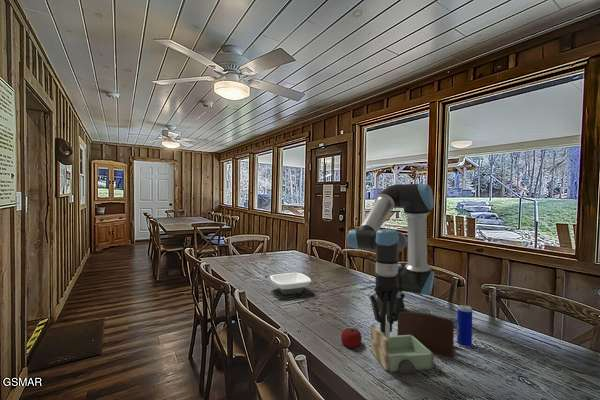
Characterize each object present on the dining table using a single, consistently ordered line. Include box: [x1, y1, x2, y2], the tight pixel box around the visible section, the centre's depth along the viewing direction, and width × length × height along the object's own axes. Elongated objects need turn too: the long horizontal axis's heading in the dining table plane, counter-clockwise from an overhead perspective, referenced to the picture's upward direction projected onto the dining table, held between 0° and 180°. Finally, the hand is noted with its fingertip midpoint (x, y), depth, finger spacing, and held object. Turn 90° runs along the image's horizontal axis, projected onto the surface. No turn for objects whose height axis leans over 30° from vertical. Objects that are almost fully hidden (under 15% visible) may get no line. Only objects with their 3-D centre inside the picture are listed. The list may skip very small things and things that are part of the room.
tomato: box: [340, 327, 362, 349], centre depth 117 cm, size 8×8×7 cm
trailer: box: [388, 335, 434, 376], centre depth 106 cm, size 18×15×6 cm
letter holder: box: [396, 311, 455, 358], centre depth 118 cm, size 10×20×14 cm, turn 64°
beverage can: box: [456, 304, 473, 348], centre depth 118 cm, size 5×5×15 cm
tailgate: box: [370, 323, 390, 372], centre depth 105 cm, size 13×1×11 cm, turn 9°
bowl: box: [269, 272, 312, 296], centre depth 182 cm, size 22×23×8 cm
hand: (385, 340), depth 105 cm, fingers closed
